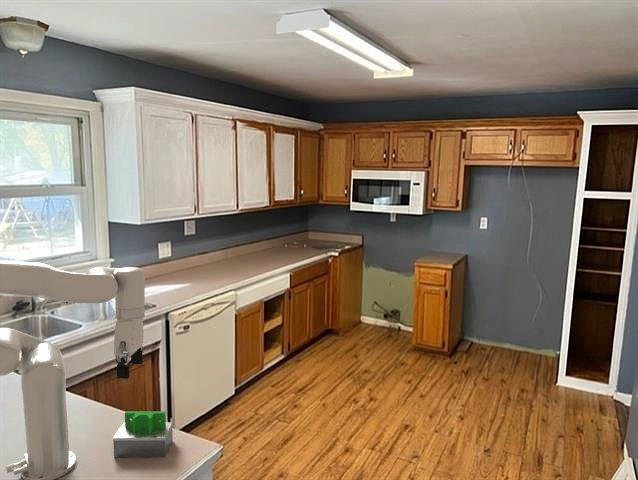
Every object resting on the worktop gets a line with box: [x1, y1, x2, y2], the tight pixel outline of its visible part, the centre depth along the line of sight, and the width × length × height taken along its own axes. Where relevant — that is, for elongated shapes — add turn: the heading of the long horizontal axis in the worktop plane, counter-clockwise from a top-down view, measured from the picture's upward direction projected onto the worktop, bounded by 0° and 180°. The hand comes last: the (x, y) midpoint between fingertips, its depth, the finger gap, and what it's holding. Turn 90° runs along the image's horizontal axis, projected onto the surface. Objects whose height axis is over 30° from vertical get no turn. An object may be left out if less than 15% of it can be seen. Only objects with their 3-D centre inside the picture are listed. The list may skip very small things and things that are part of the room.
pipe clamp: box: [124, 410, 167, 433], centre depth 133 cm, size 11×4×5 cm, turn 92°
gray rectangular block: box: [112, 421, 174, 459], centre depth 133 cm, size 14×8×6 cm, turn 93°
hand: (130, 370), depth 132 cm, fingers open, 9 cm apart
